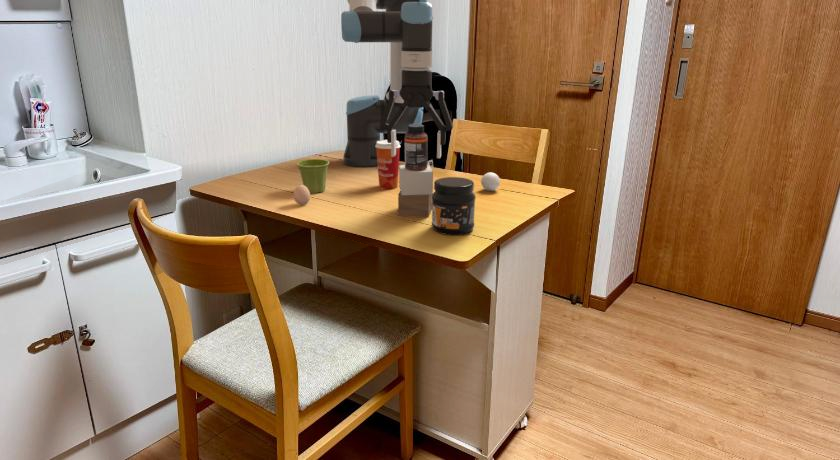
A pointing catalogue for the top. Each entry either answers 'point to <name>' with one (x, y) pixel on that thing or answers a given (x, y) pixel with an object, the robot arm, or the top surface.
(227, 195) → the top surface
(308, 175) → the plant pot
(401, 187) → the top block
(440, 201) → the supplement container
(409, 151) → the supplement bottle
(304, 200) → the egg
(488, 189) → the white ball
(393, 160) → the paper cup
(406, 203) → the bottom block
